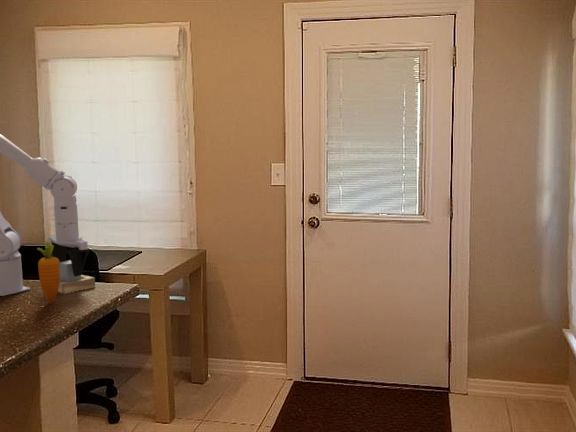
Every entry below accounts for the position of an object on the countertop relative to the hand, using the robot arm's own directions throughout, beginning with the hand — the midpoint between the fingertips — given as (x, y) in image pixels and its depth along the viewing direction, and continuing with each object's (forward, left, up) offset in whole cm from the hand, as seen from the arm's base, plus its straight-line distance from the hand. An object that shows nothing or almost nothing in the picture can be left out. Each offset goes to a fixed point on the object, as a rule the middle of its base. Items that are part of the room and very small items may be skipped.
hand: (69, 273), depth 171 cm
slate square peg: (0, 0, -4) cm, 4 cm away
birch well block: (0, 0, -4) cm, 4 cm away
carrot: (+9, -12, -4) cm, 15 cm away
